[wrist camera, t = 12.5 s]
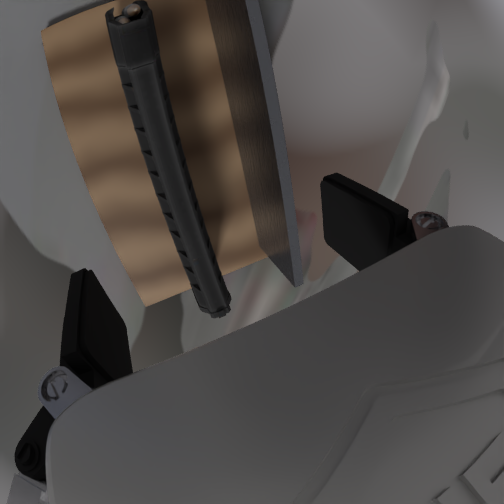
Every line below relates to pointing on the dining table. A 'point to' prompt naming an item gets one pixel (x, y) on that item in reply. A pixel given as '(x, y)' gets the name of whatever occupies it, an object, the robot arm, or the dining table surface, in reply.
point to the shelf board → (128, 148)
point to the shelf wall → (258, 128)
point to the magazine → (165, 151)
